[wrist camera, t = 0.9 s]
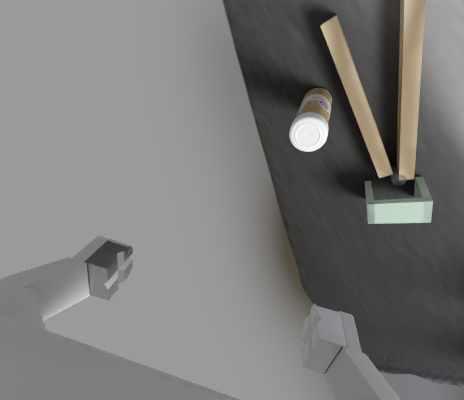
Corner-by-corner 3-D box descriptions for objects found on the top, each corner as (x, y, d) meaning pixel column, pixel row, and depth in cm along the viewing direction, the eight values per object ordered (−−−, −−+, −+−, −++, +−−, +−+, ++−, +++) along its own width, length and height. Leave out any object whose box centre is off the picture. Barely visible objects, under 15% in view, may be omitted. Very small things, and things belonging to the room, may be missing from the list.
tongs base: (421, -28, 30) (427, -29, 28) (410, 174, 44) (413, 184, 42) (390, -17, 31) (394, -18, 29) (389, 176, 45) (391, 186, 43)
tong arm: (336, 14, 35) (336, 15, 32) (390, 165, 44) (392, 174, 42) (321, 23, 36) (320, 25, 34) (377, 169, 45) (379, 178, 43)
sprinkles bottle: (338, 94, 40) (335, 127, 30) (322, 120, 43) (315, 158, 33) (310, 81, 40) (299, 110, 30) (297, 108, 43) (282, 143, 33)
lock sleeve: (422, 176, 43) (433, 201, 38) (420, 196, 45) (430, 222, 40) (364, 181, 47) (367, 204, 42) (365, 199, 49) (368, 223, 44)
